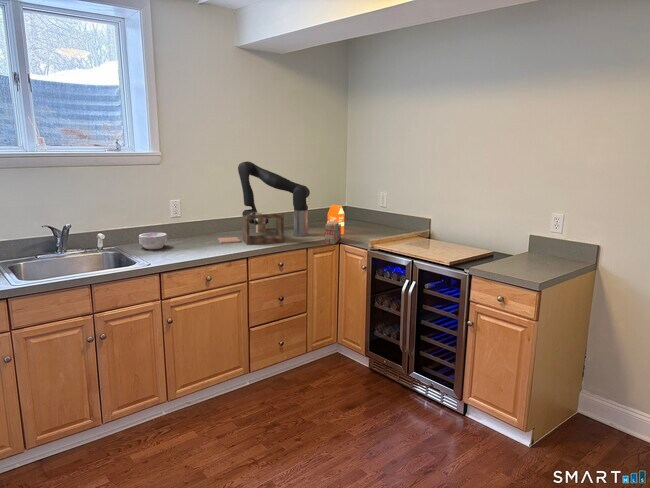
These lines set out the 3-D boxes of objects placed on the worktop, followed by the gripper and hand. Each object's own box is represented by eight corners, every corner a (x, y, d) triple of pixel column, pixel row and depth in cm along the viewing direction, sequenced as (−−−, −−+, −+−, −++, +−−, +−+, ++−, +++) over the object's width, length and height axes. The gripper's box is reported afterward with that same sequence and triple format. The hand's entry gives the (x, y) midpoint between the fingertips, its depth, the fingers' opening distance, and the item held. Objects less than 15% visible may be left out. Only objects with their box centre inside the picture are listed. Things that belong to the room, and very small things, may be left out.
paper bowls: (157, 243, 291) (157, 230, 289) (172, 247, 282) (172, 234, 280) (134, 247, 279) (133, 234, 278) (148, 252, 270) (148, 238, 268)
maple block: (263, 231, 312) (263, 212, 310) (265, 232, 308) (265, 214, 305) (255, 231, 311) (255, 213, 308) (257, 233, 306) (257, 214, 304)
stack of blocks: (331, 237, 324) (332, 218, 322) (340, 237, 323) (341, 219, 320) (324, 243, 304) (325, 224, 301) (334, 244, 303) (335, 224, 300)
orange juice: (337, 235, 329) (338, 206, 325) (326, 233, 334) (327, 205, 330) (343, 234, 335) (344, 205, 331) (333, 232, 340) (334, 204, 336)
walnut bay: (278, 238, 314) (278, 211, 310) (283, 242, 303) (283, 214, 299) (243, 240, 305) (242, 212, 302) (247, 244, 295) (246, 215, 291)
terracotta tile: (236, 238, 312) (236, 237, 312) (240, 242, 301) (240, 240, 301) (217, 239, 308) (217, 237, 308) (220, 243, 297) (220, 241, 297)
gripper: (244, 213, 318) (250, 217, 302) (266, 212, 323) (272, 216, 307) (244, 224, 319) (250, 229, 304) (266, 223, 324) (272, 228, 309)
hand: (261, 222), depth 306 cm, fingers closed on maple block, 5 cm apart
